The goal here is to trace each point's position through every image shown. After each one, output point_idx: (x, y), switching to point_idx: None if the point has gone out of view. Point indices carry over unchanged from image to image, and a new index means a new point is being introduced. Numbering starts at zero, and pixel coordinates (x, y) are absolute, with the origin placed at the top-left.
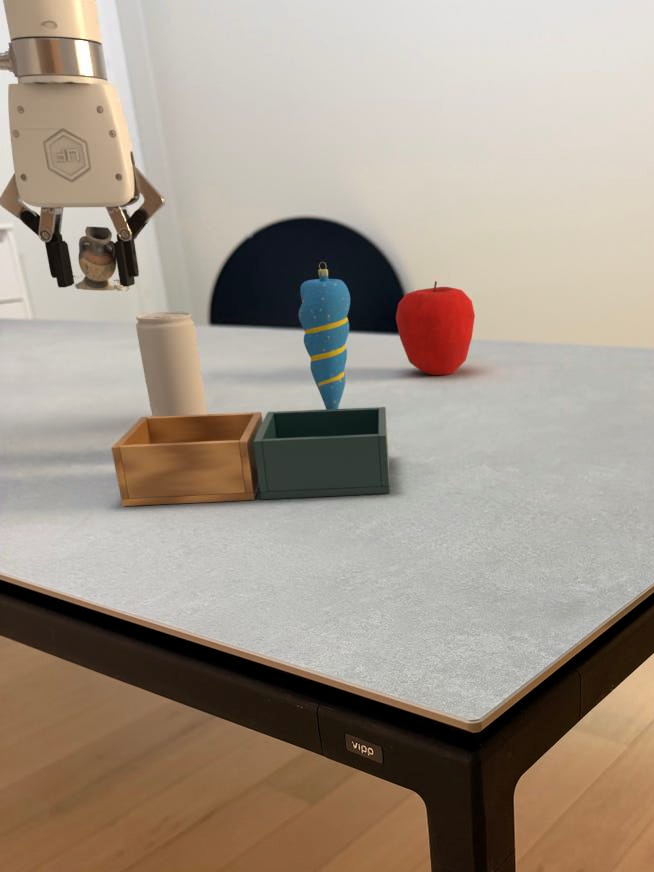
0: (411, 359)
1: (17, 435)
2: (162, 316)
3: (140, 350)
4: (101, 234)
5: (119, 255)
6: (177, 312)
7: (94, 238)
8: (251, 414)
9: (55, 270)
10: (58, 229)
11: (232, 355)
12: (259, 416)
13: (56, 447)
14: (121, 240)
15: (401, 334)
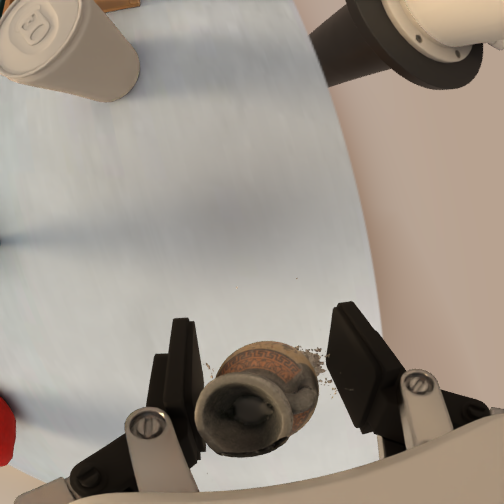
0: (4, 406)
1: (350, 190)
2: (35, 24)
3: (102, 12)
4: (241, 433)
5: (178, 368)
6: (12, 74)
7: (249, 382)
8: None
9: (365, 319)
10: (385, 443)
11: (210, 485)
12: (4, 7)
13: (286, 117)
14: (173, 421)
15: (2, 424)
